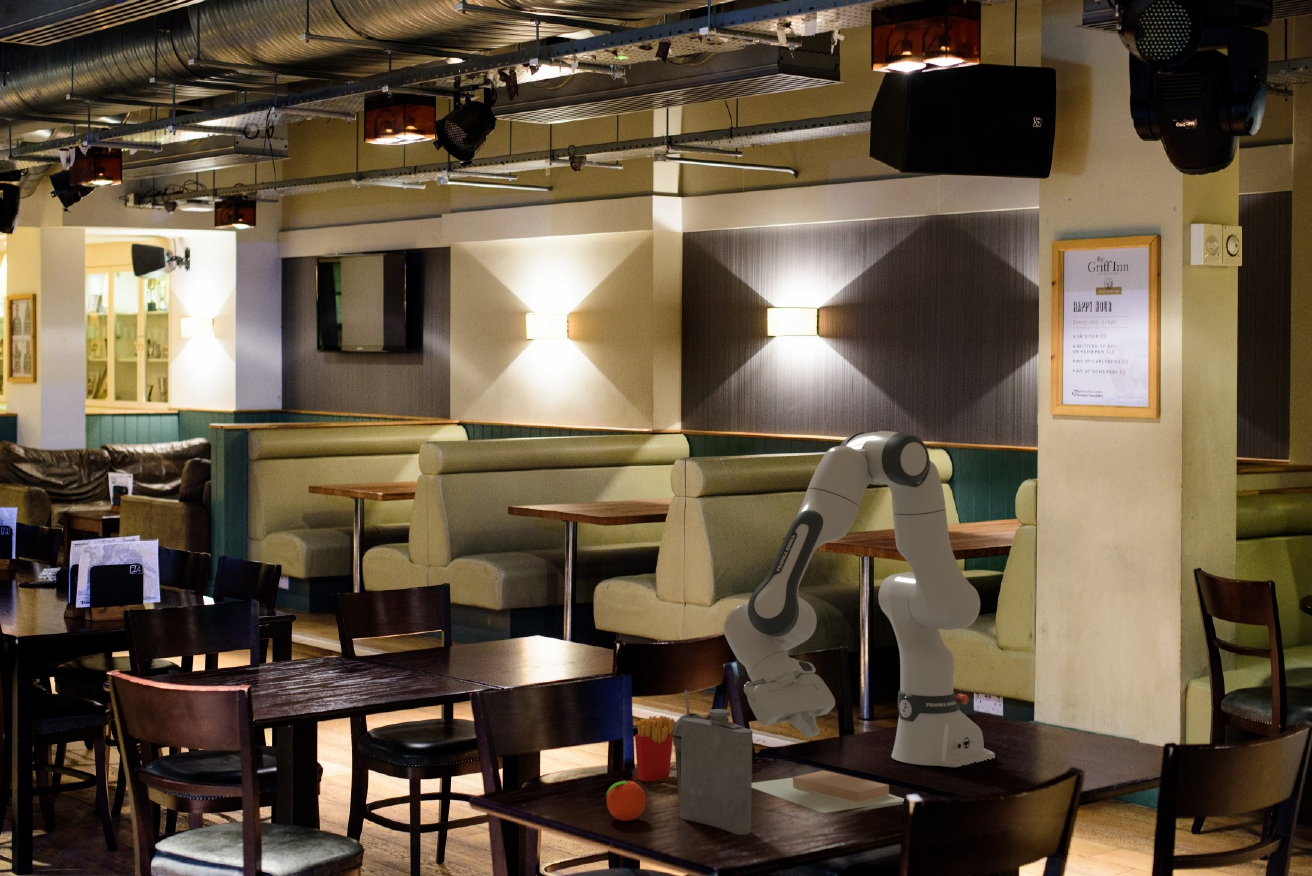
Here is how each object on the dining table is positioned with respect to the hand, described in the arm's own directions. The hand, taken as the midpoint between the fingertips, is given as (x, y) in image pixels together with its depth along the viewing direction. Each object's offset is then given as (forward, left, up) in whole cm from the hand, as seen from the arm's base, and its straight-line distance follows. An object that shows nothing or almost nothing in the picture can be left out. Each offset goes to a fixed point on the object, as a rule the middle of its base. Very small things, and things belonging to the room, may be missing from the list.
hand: (813, 734), depth 296 cm
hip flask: (+32, +14, -11) cm, 36 cm away
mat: (+2, +6, -10) cm, 12 cm away
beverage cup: (+25, -5, -11) cm, 27 cm away
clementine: (+45, +4, -11) cm, 46 cm away
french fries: (+23, -21, -11) cm, 33 cm away
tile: (0, -1, -9) cm, 9 cm away
